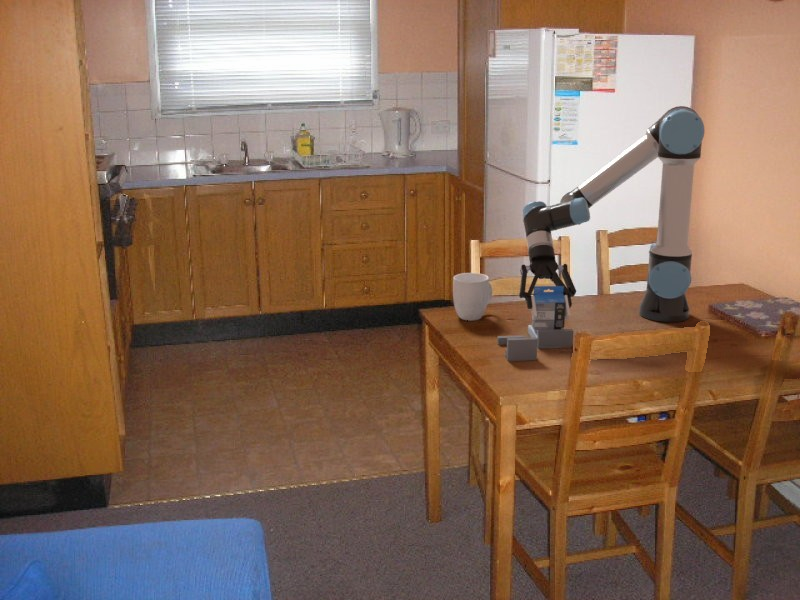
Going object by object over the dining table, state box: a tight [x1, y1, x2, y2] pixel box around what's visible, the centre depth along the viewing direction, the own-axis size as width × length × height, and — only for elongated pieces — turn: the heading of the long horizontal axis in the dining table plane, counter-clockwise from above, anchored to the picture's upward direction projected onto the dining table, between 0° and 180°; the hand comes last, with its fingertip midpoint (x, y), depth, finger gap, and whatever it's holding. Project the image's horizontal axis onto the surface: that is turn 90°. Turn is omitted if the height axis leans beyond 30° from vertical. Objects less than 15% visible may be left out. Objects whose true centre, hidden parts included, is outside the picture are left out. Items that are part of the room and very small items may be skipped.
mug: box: [452, 272, 493, 322], centre depth 282 cm, size 15×11×13 cm
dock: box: [527, 324, 574, 350], centre depth 261 cm, size 10×14×5 cm
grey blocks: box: [496, 334, 538, 362], centre depth 252 cm, size 8×15×6 cm, turn 5°
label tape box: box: [531, 285, 566, 331], centre depth 260 cm, size 9×4×12 cm, turn 92°
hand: (551, 317), depth 257 cm, fingers closed on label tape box, 9 cm apart
